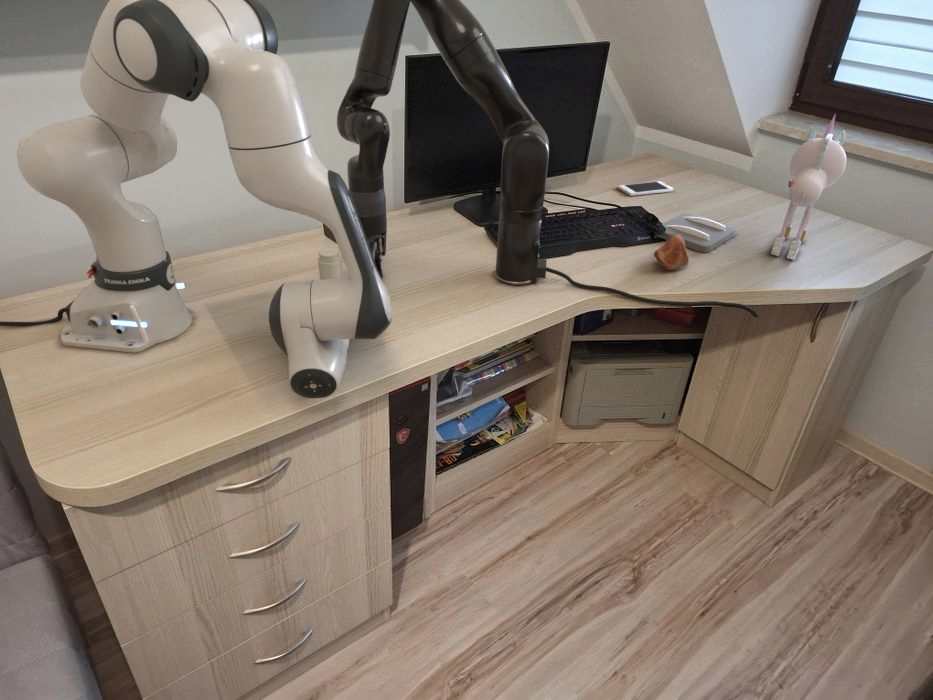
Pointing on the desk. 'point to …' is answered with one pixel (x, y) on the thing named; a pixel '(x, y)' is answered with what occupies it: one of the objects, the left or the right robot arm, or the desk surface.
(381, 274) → the lid
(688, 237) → the light switch
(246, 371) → the desk surface
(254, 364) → the desk surface
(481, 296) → the desk surface
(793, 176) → the toy
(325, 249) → the beige cylindrical bottle
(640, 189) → the smartphone
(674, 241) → the fossil
